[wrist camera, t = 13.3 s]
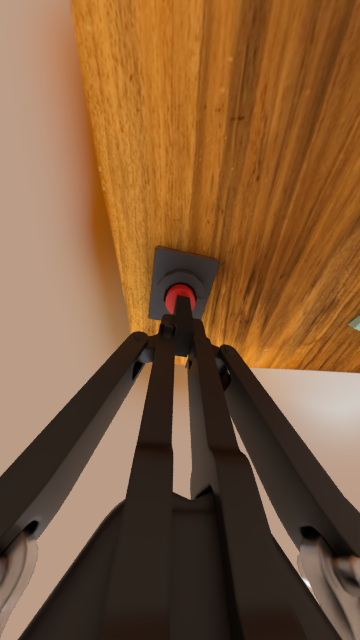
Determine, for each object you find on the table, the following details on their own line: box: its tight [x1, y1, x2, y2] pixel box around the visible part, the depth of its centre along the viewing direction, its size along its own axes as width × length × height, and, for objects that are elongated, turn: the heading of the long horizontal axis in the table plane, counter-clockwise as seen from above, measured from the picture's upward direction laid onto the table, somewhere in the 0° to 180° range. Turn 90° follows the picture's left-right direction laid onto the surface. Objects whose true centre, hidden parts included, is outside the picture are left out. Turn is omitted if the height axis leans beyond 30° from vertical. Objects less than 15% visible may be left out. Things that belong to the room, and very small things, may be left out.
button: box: [165, 284, 195, 314], centre depth 18 cm, size 4×4×2 cm
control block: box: [148, 246, 220, 320], centre depth 21 cm, size 10×8×4 cm
